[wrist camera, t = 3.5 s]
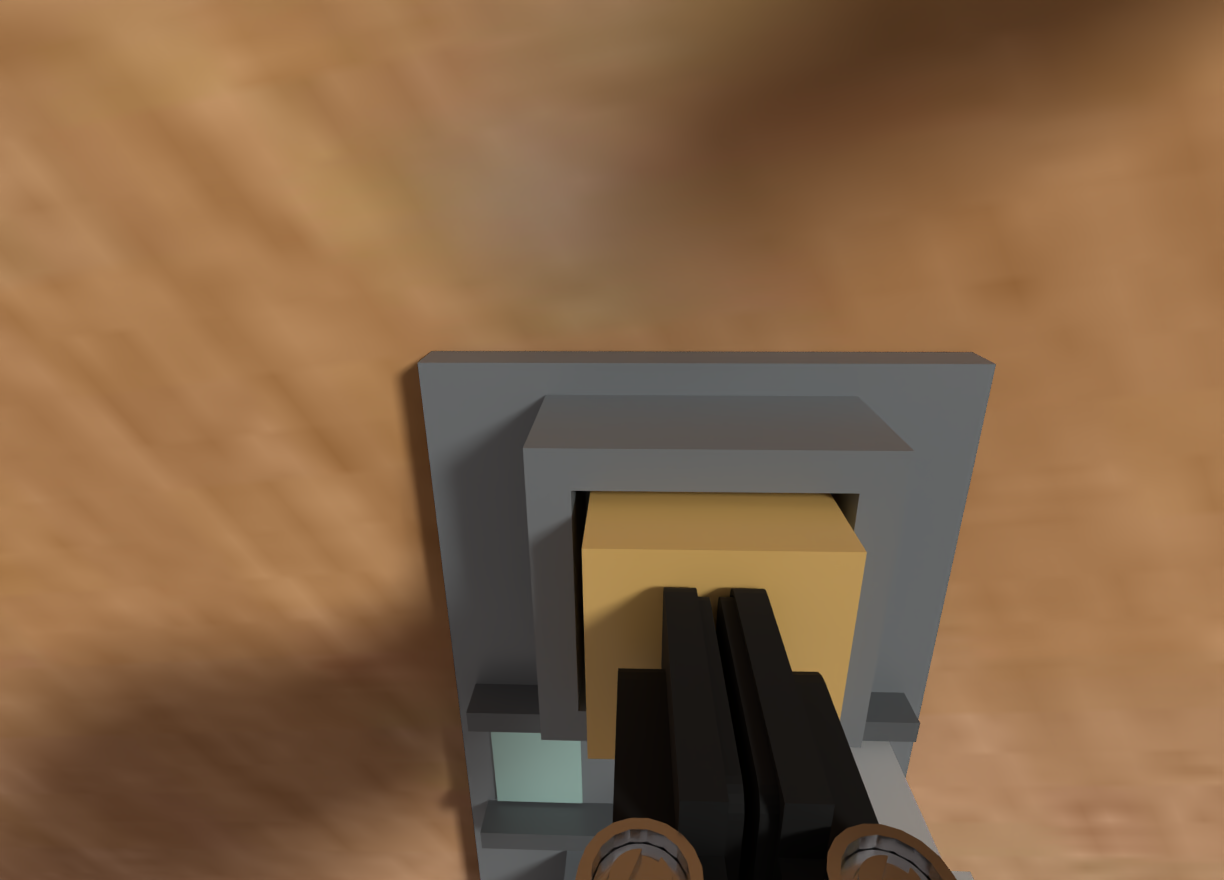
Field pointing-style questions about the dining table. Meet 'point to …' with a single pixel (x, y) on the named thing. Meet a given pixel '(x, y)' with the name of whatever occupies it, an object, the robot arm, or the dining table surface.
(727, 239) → the dining table surface
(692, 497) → the tan yellow cube
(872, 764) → the slider knob
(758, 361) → the switch panel
